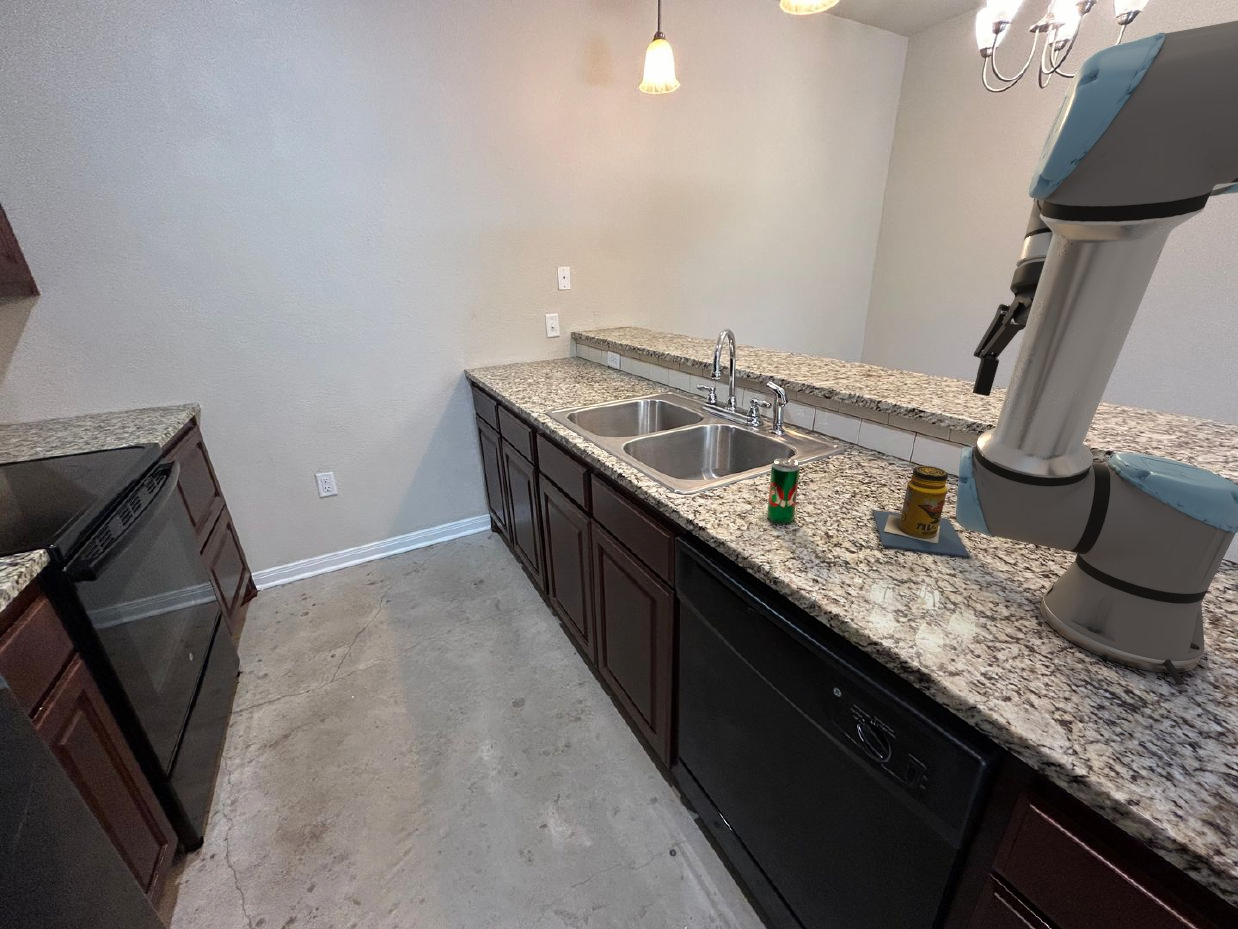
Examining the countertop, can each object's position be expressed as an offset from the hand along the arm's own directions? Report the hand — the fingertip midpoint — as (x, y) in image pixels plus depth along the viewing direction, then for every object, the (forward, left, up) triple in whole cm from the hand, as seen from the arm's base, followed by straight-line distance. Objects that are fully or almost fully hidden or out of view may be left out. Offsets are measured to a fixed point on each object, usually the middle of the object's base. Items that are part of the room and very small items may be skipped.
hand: (1008, 392), depth 85 cm
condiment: (-7, +12, -25) cm, 28 cm away
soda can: (-9, +35, -25) cm, 44 cm away
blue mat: (-8, +11, -25) cm, 28 cm away
